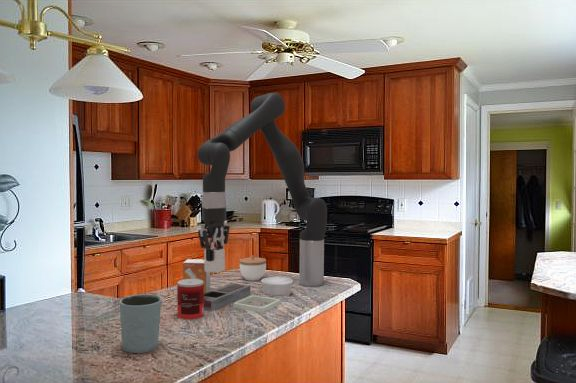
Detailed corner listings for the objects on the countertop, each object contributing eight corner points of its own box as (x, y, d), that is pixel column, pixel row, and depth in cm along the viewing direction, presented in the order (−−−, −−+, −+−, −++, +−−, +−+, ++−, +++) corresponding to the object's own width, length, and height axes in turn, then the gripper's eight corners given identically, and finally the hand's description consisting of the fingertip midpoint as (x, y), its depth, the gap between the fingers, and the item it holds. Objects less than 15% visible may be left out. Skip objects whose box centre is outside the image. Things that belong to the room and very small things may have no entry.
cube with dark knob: (213, 268, 160) (213, 247, 159) (224, 270, 158) (224, 248, 157) (204, 271, 156) (204, 249, 155) (216, 272, 154) (216, 250, 153)
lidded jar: (233, 279, 196) (233, 256, 195) (252, 274, 204) (252, 252, 203) (253, 283, 189) (253, 259, 188) (271, 278, 197) (271, 255, 197)
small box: (182, 301, 164) (182, 262, 163) (187, 296, 170) (187, 258, 170) (206, 301, 163) (206, 262, 163) (210, 296, 170) (210, 259, 169)
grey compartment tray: (230, 294, 172) (230, 283, 172) (250, 297, 169) (250, 285, 168) (190, 310, 153) (190, 297, 153) (211, 314, 149) (211, 301, 149)
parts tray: (251, 302, 163) (251, 295, 163) (280, 306, 158) (280, 299, 158) (232, 310, 153) (232, 303, 153) (263, 315, 148) (263, 308, 148)
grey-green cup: (138, 337, 129) (137, 292, 128) (170, 343, 125) (170, 296, 124) (110, 350, 120) (110, 302, 119) (144, 357, 116) (143, 307, 115)
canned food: (194, 312, 151) (193, 277, 150) (209, 318, 145) (209, 281, 145) (172, 318, 146) (171, 281, 145) (187, 324, 140) (186, 286, 139)
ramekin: (292, 299, 167) (292, 284, 167) (259, 299, 167) (259, 283, 167) (292, 291, 178) (293, 276, 178) (262, 290, 179) (262, 276, 178)
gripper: (217, 204, 164) (218, 255, 165) (190, 207, 151) (190, 262, 152) (236, 205, 160) (237, 257, 161) (210, 208, 147) (210, 264, 148)
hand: (214, 259), depth 156 cm, fingers closed on cube with dark knob, 4 cm apart
